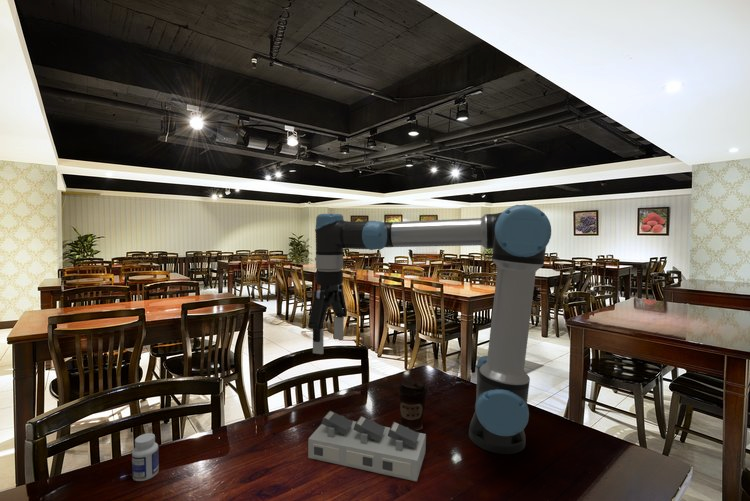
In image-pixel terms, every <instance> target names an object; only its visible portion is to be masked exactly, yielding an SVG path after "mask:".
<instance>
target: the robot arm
mask: <svg viewBox="0 0 750 501" xmlns="http://www.w3.org/2000/svg"><path fill="white" fill-rule="evenodd" d="M315 218H316V219H315V229H314V233H315V257H314V261H315V269H316V271H315V284H316V285H319V286H320V287H319V288H320V290H319V289H315V290H314V291H313V299H312V300H313V301H312V305H311V310H310V314H309V315H310V316H309V319H308V324H307V328H308V329H310V330H312V354H316V355H323V354H324V337H325V336H324V330H325V329H324V328H323V326H324V323H325V319H326V317H327V312H328V308H330V307H332V311H333V313H334V315H335V316H334V318H333V323H334V324H333V340H340V341H342V340H344V331H345V330H344V328H345V327H344V324H345V323H344V322H345V321H344V318H347V317H348V309H347V305H346V299H345V296H344V286H343V282H344V271H343V269H344V250H345V249H346V250H349V249H352V250H368V251H373V250H382V249H384V248H406V247H407V248H408V247H409V248H413V247H414V248H415V247H418V248H420V247H460V246H461V247H463V246H464V247H465V246H468V247H469V246H470V247H471V246H473V247H474V246H482V247H483V248H484V249H486V250H490V249H491V250H492V254H491V255H492V256H491V260H492V262H493V263H494V264H495V265H496V276H495V277H496V279H495V288H494V295H493V296H494V297H493V304H492V315H491V321H490V323H491V324H490V330H489V341H488V348H487V355H483V356H481V357H479V358H478V359H477V365H476V371H477V372H476V392H475V393H476V394H475V395H476V397H475V398H476V399H475V404H474V410H475V411H474V413H473V416H472V418H471V420H470V424H469V426H468V427H469V428H468V437H469V440H471V442H472V443H473V444H474V445H475V446H477V447H479V448H480V449H483V450H485V451H487V452H490V453H493V454H494V453H495V454H498V455H513V454H518V453H520V452H522V451H523V450H524V449H525V447H526V433H525V428H526V426H527V425H528V422H529V417H530V412H529V407H528V398H529V397H528V396H529V389H530V381H531V380H530V379H531V378H530V376H529V375H528V374H527V372H526V371H525V365H526V358H527V349H528V338H529V332H530V331H529V330H530V324H531V323H530V322H531V314H532V307H533V306H532V305H533V299H534V298H533V297H534V292H535V291H534V289H535V284H536V283H535V281H536V273H537V271H539V269H541V268H542V267H544V265H545V258H546V250H547V246H548V244H549V242H550V240H551V238H552V226H551V222H550V219H549V218H548V216H547V215H546V214H545V212H543V211H542V210H541V209H540V208H538V207H535V206H533V205H529V204H516V205H511V206H509V207H507V208H506V209H505V210H504V211H502V212H497V213H486V214H484V215H483V216H481V217H477V218H476V217H475V218H473V217H472V218H452V219H433V220H432V219H431V220H407V221H385V222H384V221H376V220H365V221H364V220H363V221H362V220H361V221H359V220H355V221H349V220H344V216H343V214H341V213H320V214H318V215H317V216H316V217H315Z"/></svg>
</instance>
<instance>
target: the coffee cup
mask: <svg viewBox="0 0 750 501" xmlns="http://www.w3.org/2000/svg"><path fill="white" fill-rule="evenodd" d="M398 392H399V409H400V410H399V411H400V423H401V424H400V425H402V426H404V427H408V428H409V429H411V430H413V431H419V430H422V429H423V426H424V424H423V419H424V413H425V407H426V395H427V393H428V387H427V386H426V382H424V381H422V380H420V379H419V380H418V379H407V380H404V381H402V382H401V384H400V386H399V388H398Z"/></svg>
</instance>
